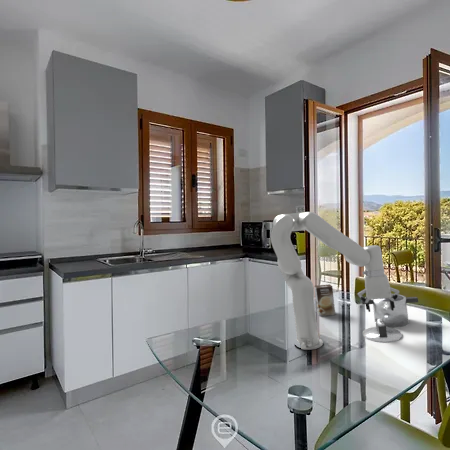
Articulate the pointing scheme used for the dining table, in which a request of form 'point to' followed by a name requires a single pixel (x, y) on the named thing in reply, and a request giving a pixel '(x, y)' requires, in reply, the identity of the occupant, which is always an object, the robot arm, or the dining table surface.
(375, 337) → the lid
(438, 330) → the dining table surface
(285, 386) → the dining table surface
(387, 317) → the pot
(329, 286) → the coffee box
